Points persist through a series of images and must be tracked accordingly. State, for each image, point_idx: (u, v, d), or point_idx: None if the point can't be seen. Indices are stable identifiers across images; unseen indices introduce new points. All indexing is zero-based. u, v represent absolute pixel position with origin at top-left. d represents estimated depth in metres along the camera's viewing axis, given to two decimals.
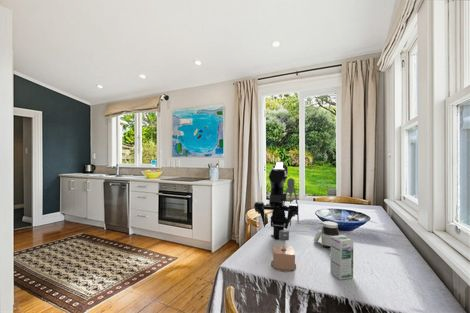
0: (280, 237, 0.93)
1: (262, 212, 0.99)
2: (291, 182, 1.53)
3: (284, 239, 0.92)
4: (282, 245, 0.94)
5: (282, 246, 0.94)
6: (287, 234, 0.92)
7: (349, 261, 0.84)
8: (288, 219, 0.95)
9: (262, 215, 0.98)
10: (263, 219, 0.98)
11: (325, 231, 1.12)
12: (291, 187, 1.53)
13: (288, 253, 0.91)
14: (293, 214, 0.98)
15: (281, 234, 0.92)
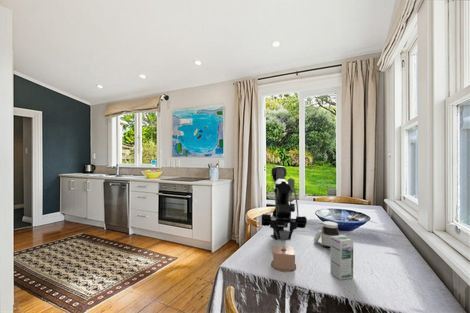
0: (280, 237, 0.93)
1: (276, 224, 0.95)
2: (291, 182, 1.53)
3: (284, 239, 0.92)
4: (282, 245, 0.94)
5: (282, 246, 0.94)
6: (287, 234, 0.92)
7: (349, 261, 0.84)
8: (291, 230, 0.94)
9: (276, 227, 0.95)
10: (277, 231, 0.94)
11: (325, 231, 1.12)
12: (291, 187, 1.53)
13: (288, 253, 0.91)
14: (295, 226, 0.96)
15: (281, 234, 0.92)
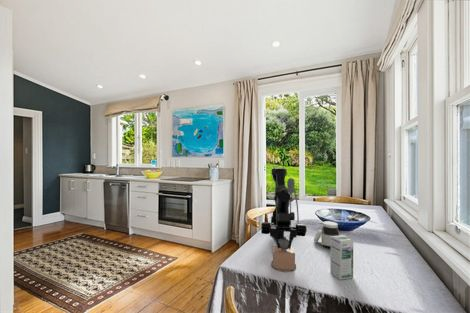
0: (280, 246, 0.93)
1: (276, 233, 0.96)
2: (291, 182, 1.53)
3: (284, 248, 0.92)
4: None
5: None
6: (287, 243, 0.92)
7: (349, 261, 0.84)
8: (291, 239, 0.94)
9: (276, 236, 0.95)
10: (277, 240, 0.94)
11: (325, 231, 1.12)
12: (291, 187, 1.53)
13: (288, 253, 0.91)
14: (295, 234, 0.96)
15: (281, 243, 0.92)
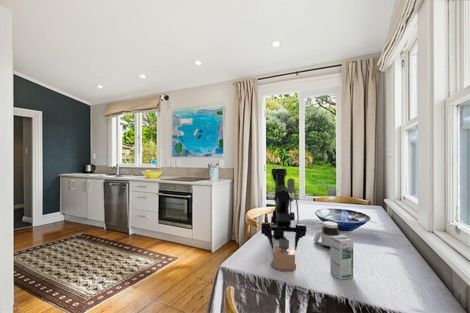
0: (280, 246, 0.93)
1: (270, 232, 0.96)
2: (291, 182, 1.53)
3: (284, 248, 0.92)
4: None
5: None
6: (287, 243, 0.92)
7: (349, 261, 0.84)
8: (297, 239, 0.94)
9: (270, 236, 0.95)
10: (271, 240, 0.94)
11: (325, 231, 1.12)
12: (291, 187, 1.53)
13: (288, 253, 0.91)
14: (301, 235, 0.96)
15: (281, 243, 0.92)
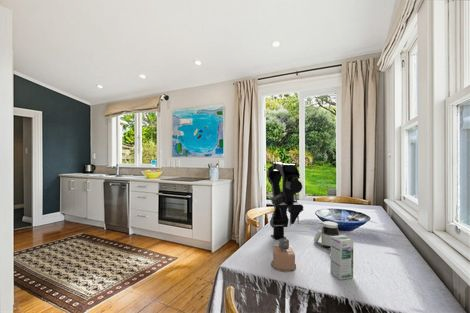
0: (280, 246, 0.93)
1: (279, 207, 1.17)
2: None
3: (284, 248, 0.92)
4: None
5: None
6: (287, 243, 0.92)
7: (349, 261, 0.84)
8: (290, 217, 1.06)
9: (280, 209, 1.17)
10: (281, 213, 1.16)
11: (325, 231, 1.12)
12: None
13: (288, 253, 0.91)
14: None
15: (281, 243, 0.92)
